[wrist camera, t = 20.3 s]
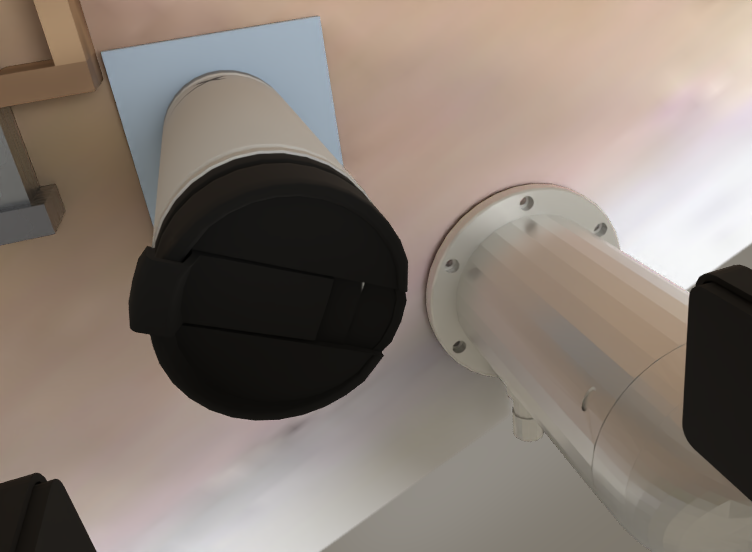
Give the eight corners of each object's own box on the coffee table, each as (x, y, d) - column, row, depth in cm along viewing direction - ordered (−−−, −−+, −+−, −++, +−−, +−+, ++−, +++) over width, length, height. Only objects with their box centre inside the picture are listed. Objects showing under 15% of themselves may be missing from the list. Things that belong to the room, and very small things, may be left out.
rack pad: (348, 210, 36) (350, 213, 36) (162, 251, 34) (162, 255, 34) (317, 15, 32) (319, 16, 31) (101, 51, 30) (100, 52, 30)
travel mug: (171, 48, 30) (162, 147, 13) (309, 91, 33) (464, 224, 15) (142, 178, 32) (101, 422, 15) (275, 210, 35) (377, 451, 17)
